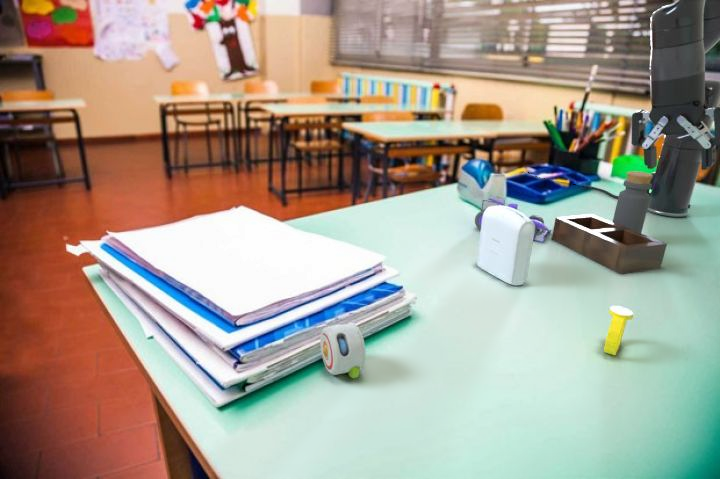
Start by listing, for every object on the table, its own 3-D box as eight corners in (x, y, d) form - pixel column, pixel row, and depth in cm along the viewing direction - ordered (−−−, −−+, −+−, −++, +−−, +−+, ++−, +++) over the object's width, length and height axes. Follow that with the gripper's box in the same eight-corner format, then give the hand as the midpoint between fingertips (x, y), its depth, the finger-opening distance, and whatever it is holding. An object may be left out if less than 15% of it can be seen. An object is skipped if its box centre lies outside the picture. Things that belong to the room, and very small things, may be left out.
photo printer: (472, 265, 91) (480, 201, 87) (490, 262, 93) (499, 199, 89) (510, 288, 83) (522, 218, 78) (529, 284, 85) (542, 215, 80)
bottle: (603, 236, 109) (618, 170, 104) (628, 236, 110) (644, 170, 104) (618, 246, 104) (635, 176, 98) (644, 246, 104) (662, 177, 99)
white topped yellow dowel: (618, 363, 63) (629, 323, 61) (595, 356, 65) (605, 316, 63) (626, 343, 68) (636, 305, 66) (604, 336, 69) (614, 299, 67)
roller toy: (331, 388, 56) (332, 344, 54) (314, 357, 62) (315, 317, 60) (366, 380, 58) (369, 337, 56) (347, 351, 64) (348, 311, 61)
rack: (551, 239, 106) (555, 217, 104) (587, 235, 110) (591, 214, 108) (621, 274, 90) (627, 249, 88) (660, 268, 93) (667, 243, 92)
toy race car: (541, 244, 103) (547, 215, 100) (473, 229, 110) (476, 201, 108) (552, 232, 110) (557, 204, 108) (487, 219, 118) (491, 192, 116)
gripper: (737, 62, 77) (735, 162, 82) (642, 73, 88) (645, 161, 93) (719, 72, 73) (717, 176, 78) (621, 82, 84) (625, 173, 90)
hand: (678, 168), depth 86 cm, fingers open, 8 cm apart
